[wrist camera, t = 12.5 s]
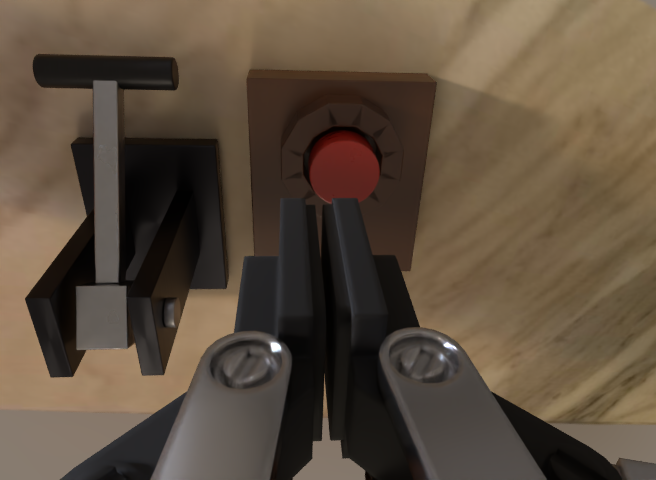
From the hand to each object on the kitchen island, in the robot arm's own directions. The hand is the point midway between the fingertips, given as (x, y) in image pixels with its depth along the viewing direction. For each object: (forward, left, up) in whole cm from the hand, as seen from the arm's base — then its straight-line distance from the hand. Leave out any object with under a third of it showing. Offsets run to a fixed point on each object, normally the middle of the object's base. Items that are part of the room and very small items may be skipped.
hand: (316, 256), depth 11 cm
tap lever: (+5, -9, -13) cm, 16 cm away
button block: (+6, +2, -19) cm, 20 cm away
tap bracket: (+9, -9, -19) cm, 23 cm away
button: (+4, +2, -16) cm, 16 cm away
